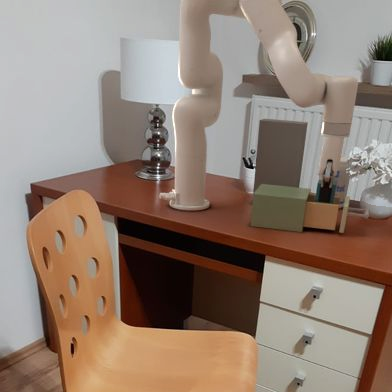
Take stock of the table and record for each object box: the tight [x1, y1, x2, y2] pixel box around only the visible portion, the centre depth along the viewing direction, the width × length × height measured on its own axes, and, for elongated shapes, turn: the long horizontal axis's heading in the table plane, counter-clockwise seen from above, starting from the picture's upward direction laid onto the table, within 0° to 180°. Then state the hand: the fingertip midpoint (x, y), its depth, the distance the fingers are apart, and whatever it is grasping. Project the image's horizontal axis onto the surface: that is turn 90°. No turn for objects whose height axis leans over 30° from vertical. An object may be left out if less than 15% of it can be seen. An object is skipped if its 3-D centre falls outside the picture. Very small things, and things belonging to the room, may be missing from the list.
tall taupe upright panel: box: [251, 118, 309, 204], centre depth 163 cm, size 14×6×25 cm, turn 68°
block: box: [315, 179, 337, 204], centre depth 144 cm, size 5×5×5 cm
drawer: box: [303, 193, 370, 234], centre depth 146 cm, size 19×11×7 cm, turn 74°
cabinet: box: [250, 184, 312, 233], centre depth 150 cm, size 15×13×9 cm
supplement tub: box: [318, 156, 351, 209], centre depth 167 cm, size 10×10×15 cm
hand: (324, 199), depth 145 cm, fingers closed on block, 5 cm apart
